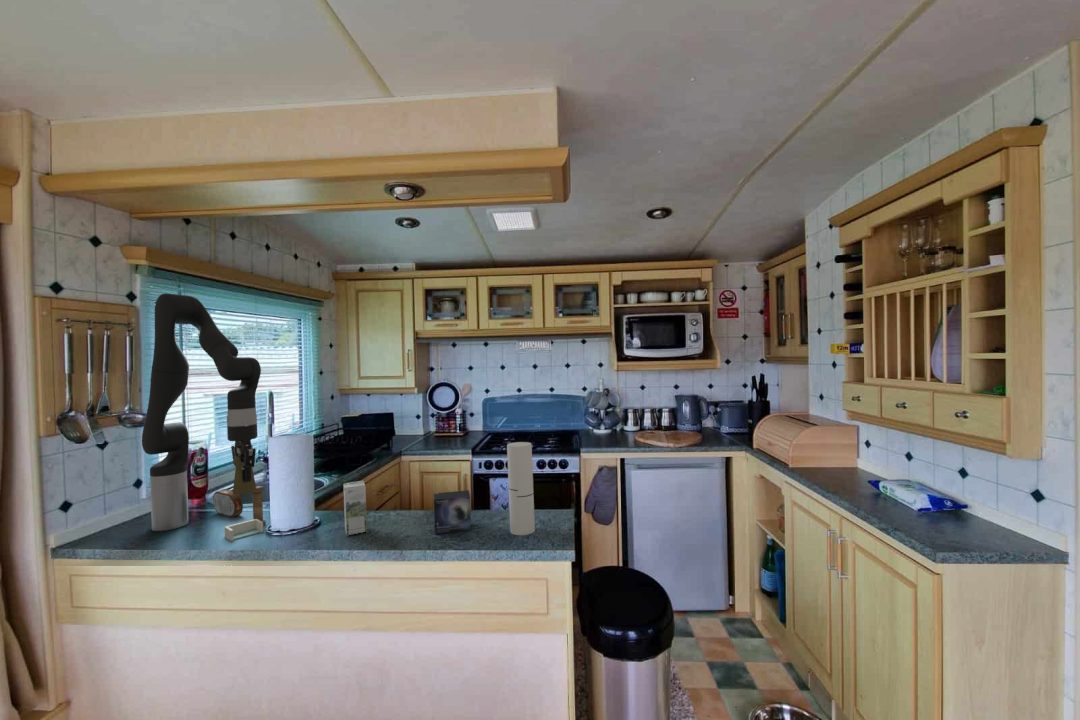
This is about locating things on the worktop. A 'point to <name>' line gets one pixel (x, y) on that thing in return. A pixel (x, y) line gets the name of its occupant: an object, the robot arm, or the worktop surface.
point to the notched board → (243, 529)
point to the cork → (238, 483)
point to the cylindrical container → (520, 488)
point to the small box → (452, 512)
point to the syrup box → (355, 508)
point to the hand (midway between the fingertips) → (244, 480)
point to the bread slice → (227, 503)
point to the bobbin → (258, 504)
